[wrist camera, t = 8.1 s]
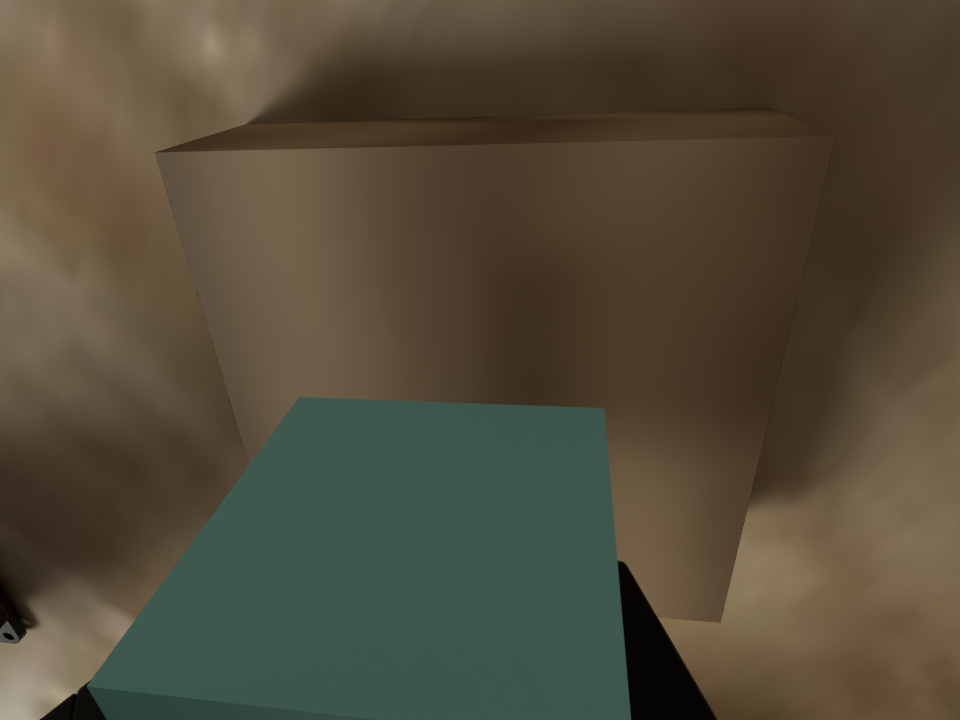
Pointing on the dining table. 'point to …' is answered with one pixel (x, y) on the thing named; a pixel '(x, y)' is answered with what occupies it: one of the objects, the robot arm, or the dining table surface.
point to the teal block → (393, 576)
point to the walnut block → (524, 289)
